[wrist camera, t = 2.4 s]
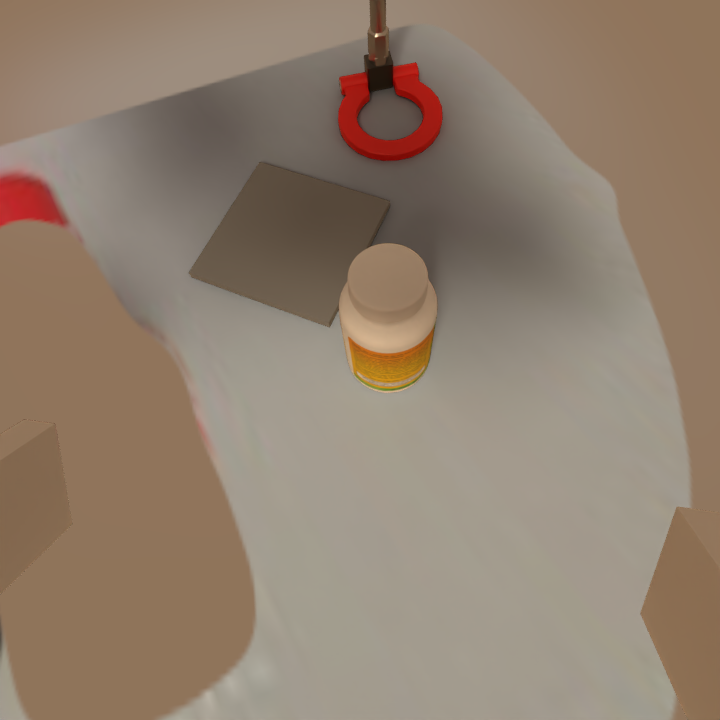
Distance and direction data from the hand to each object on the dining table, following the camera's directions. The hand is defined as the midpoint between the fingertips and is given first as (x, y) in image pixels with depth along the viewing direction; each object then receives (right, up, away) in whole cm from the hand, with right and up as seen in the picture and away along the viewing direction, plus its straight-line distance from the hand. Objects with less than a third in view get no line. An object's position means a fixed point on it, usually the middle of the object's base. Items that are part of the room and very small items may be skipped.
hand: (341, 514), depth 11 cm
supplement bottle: (+2, +3, +23) cm, 24 cm away
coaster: (-5, +12, +27) cm, 30 cm away
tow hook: (+3, +23, +32) cm, 39 cm away
